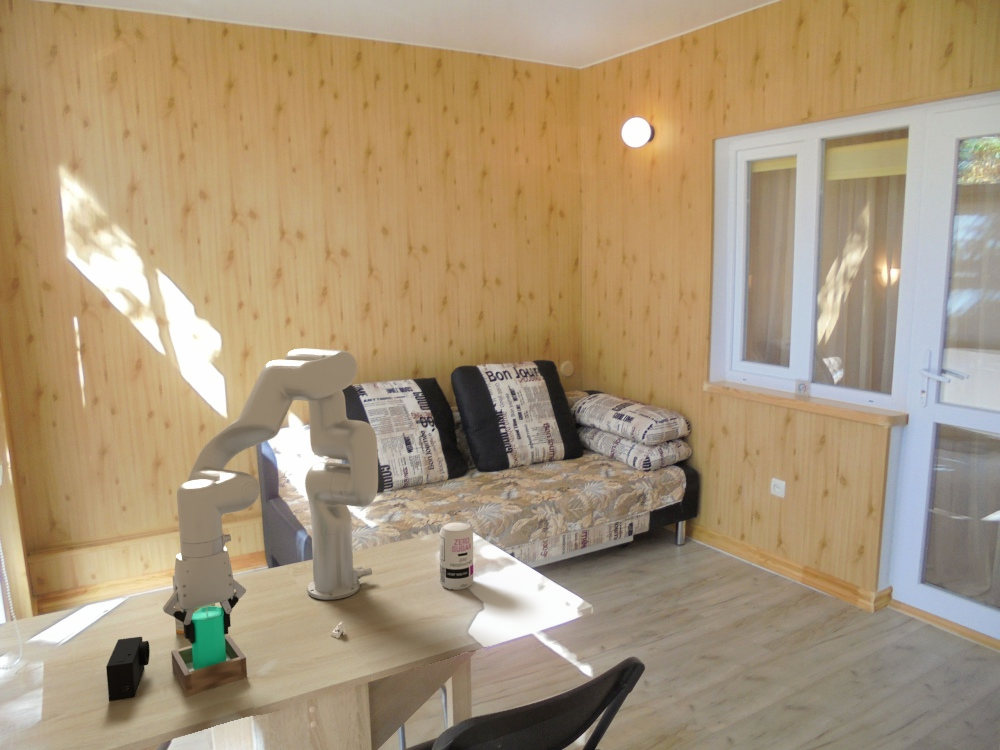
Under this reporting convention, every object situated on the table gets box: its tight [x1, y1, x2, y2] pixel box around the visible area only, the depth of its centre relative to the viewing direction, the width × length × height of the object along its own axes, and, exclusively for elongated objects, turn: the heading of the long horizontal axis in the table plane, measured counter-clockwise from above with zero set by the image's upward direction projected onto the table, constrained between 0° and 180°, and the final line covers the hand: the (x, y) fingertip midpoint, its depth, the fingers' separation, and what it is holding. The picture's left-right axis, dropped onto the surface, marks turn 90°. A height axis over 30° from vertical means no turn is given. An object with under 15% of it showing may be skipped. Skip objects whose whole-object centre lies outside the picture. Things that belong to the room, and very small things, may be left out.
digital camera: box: [105, 636, 151, 702], centre depth 139 cm, size 10×5×7 cm, turn 16°
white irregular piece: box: [330, 621, 347, 639], centre depth 159 cm, size 3×3×3 cm
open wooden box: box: [171, 634, 248, 697], centre depth 143 cm, size 11×11×4 cm
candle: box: [191, 605, 226, 670], centre depth 142 cm, size 6×6×12 cm
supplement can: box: [439, 520, 474, 591], centre depth 183 cm, size 8×8×15 cm
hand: (207, 635), depth 142 cm, fingers closed on candle, 5 cm apart
